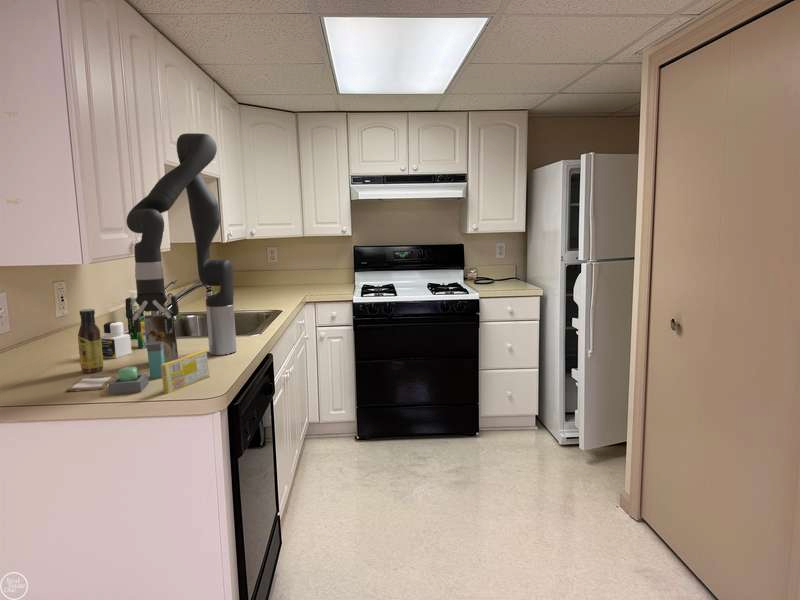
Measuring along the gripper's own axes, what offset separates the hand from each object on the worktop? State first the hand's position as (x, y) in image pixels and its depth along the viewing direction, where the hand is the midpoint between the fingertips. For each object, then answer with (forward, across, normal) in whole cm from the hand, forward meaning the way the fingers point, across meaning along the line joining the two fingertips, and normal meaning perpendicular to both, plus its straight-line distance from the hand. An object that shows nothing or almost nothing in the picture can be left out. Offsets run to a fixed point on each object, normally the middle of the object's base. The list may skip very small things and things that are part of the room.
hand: (154, 331), depth 157 cm
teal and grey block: (+14, 0, 0) cm, 14 cm away
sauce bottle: (+14, +22, -13) cm, 29 cm away
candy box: (+15, -10, +10) cm, 21 cm away
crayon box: (+14, +13, -44) cm, 48 cm away
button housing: (+14, +5, +10) cm, 18 cm away
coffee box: (+14, +2, -17) cm, 22 cm away
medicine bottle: (+14, +21, -33) cm, 41 cm away
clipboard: (+14, +17, +4) cm, 23 cm away
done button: (+12, +5, +11) cm, 17 cm away
